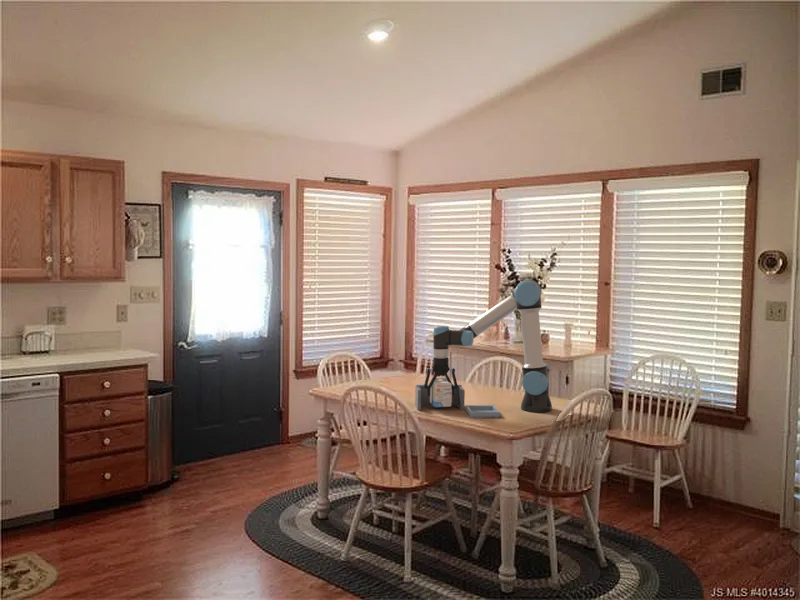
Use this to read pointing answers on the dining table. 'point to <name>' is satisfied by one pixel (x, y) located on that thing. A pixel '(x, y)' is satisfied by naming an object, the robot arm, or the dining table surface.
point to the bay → (424, 399)
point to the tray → (482, 411)
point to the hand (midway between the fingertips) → (440, 402)
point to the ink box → (441, 393)
